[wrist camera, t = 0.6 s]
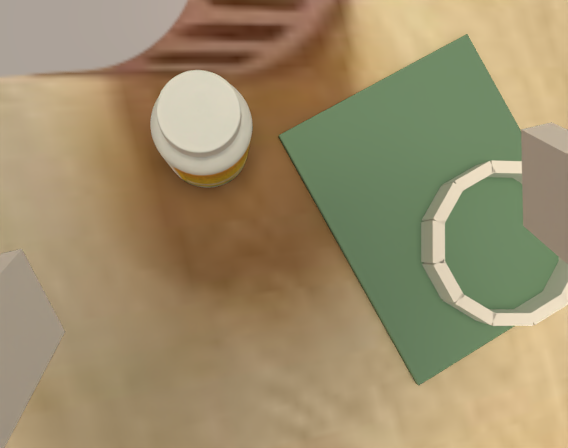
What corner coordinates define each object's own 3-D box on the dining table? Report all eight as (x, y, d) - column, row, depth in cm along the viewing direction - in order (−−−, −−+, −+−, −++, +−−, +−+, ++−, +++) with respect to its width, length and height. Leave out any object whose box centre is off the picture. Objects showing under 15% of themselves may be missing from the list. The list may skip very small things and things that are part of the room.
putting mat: (278, 136, 34) (279, 135, 33) (463, 36, 35) (467, 33, 35) (416, 383, 34) (418, 385, 34) (594, 272, 36) (599, 273, 35)
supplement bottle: (149, 147, 33) (115, 106, 23) (208, 92, 34) (198, 30, 24) (207, 206, 33) (196, 190, 24) (265, 150, 34) (277, 112, 24)
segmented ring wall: (393, 212, 34) (403, 210, 32) (522, 138, 35) (539, 132, 33) (469, 350, 34) (484, 356, 32) (595, 272, 35) (617, 273, 33)
